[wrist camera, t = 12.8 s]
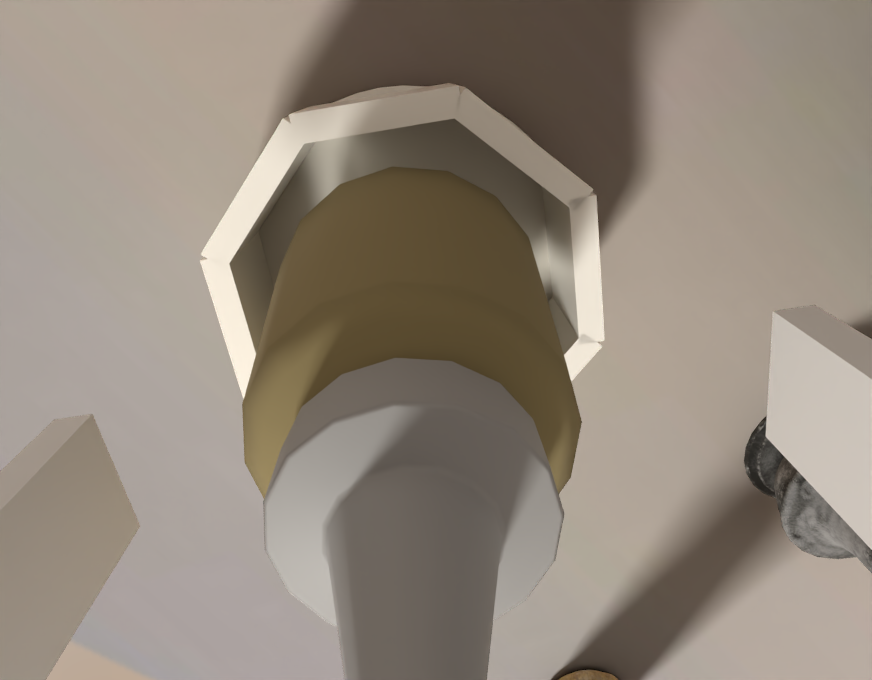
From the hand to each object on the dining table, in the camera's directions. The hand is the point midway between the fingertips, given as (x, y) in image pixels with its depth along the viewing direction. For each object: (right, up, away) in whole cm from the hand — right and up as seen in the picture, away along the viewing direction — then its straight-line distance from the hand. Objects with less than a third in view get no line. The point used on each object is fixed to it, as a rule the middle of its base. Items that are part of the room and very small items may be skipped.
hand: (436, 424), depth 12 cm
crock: (-1, +5, +11) cm, 12 cm away
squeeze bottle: (-1, +4, +11) cm, 12 cm away
